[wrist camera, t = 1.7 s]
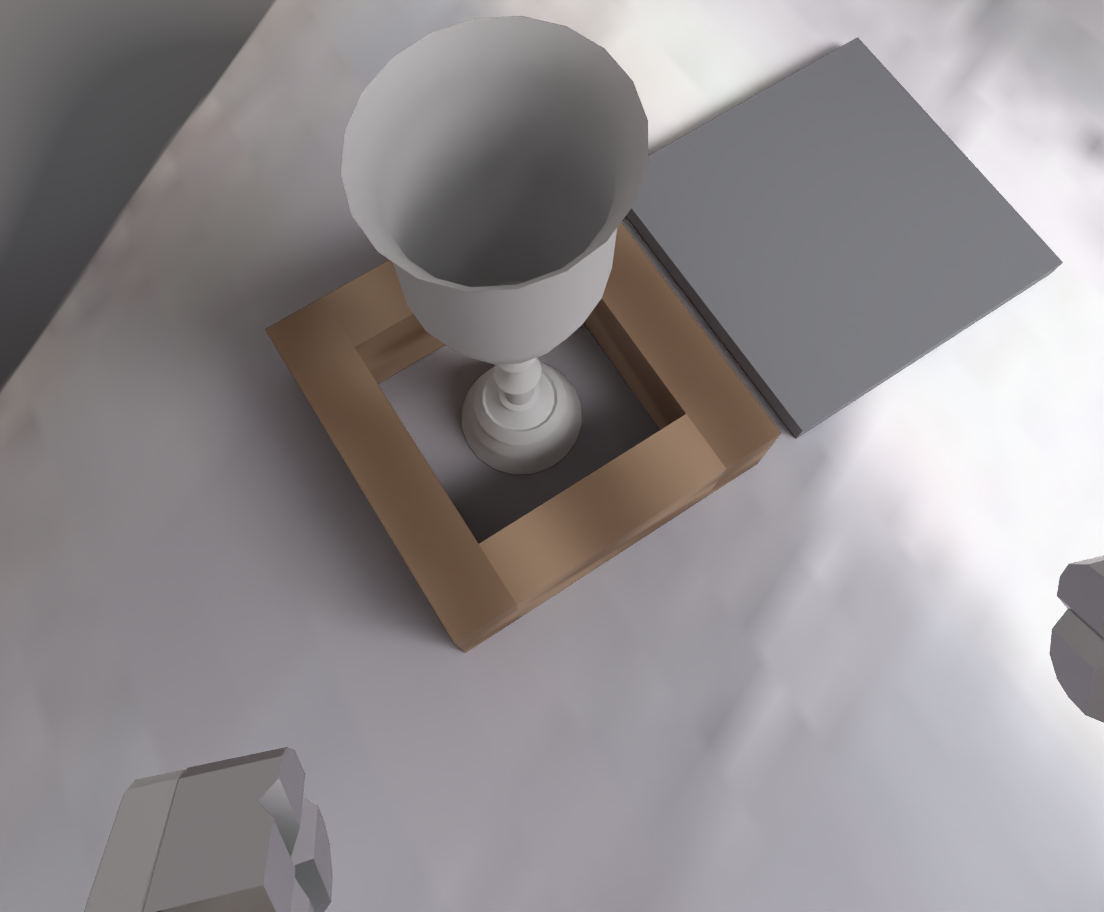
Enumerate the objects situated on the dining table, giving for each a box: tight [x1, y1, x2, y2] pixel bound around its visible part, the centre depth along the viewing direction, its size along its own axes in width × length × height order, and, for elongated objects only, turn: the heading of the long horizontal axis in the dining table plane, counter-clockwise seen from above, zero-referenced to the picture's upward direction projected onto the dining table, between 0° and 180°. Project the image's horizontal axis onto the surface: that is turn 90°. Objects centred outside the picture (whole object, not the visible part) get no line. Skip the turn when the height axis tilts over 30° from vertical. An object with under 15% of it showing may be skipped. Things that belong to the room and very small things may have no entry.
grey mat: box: [626, 37, 1063, 438], centre depth 39 cm, size 14×14×1 cm
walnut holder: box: [265, 223, 781, 653], centre depth 35 cm, size 14×14×4 cm
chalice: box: [341, 16, 648, 474], centre depth 29 cm, size 7×7×18 cm
